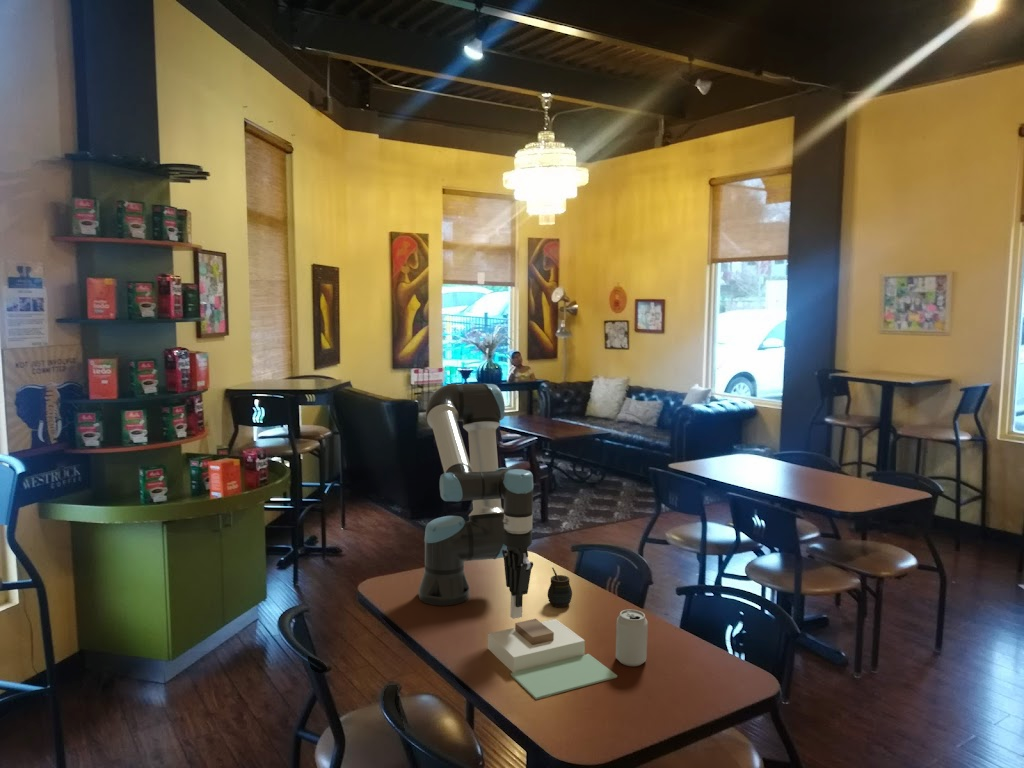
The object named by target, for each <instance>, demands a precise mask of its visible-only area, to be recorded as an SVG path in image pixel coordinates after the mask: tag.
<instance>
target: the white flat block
mask: <svg viewBox="0 0 1024 768" xmlns="http://www.w3.org/2000/svg"><path fill="white" fill-rule="evenodd" d="M540 622H541V623H542V624H543V625H545V626H546V627H547V628H548V629H550V630H551V631H552V632H554V640H553V641H549V642H544V643H540V644H536V645H532V644H531V643H529V642H528V641H527V640H526V639H525V638H523V637H522V636H521V635H520V634H519V633H518V632H516V631H515V627H511V628H508V629H503V630H497V631H494V632H489V633H488V634H487V649H488V651H490V652H491V654H493V655H494V656H495V657H496V658H497V659H498V660H499V661H500V663H502V664H503V665H504V666H505V667H506V668H507V669H508V670H509V671H511V673H513V672H517V671H521V670H525V669H529V668H533V667H537V666H541V665H545V664H549V663H553V662H557V661H561V660H565V659H569V658H573V657H577V656H581V655H585V652H586V648H585V647H586V640H585V639H584V638H582V637H581V636H579V634H577V633H575V631H573V630H571V628H569V627H567V626H566V625H565V624H563V623H562V622H560V621H559V620H558V619H556V618H555V619H554V618H553V619H549V620H545V621H540Z"/></svg>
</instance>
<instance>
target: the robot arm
mask: <svg viewBox="0 0 1024 768" xmlns="http://www.w3.org/2000/svg"><path fill="white" fill-rule="evenodd" d="M505 409H506V405H505V400H504V396H503V393H502V390H501V389H500V387H499V386H498V385H497V384H494V383H484V382H482V383H457V384H456V383H450V384H446V385H443V386H441V387H439V388H438V389H437V390H436V391H435V392H434V393H433V394H432V395H431V396H430V398H429V400H428V402H427V404H426V409H425V417H426V420H427V421H426V422H427V425H428V426H429V427H430V428H431V429H432V431H433V435H434V440H435V442H436V447H437V451H438V453H439V458H440V462H441V466H442V469H443V473H442V474H440V476H439V477H440V478H439V493H440V494H439V495H440V498H441V500H443V501H444V502H468V501H472V508H473V509H472V511H471V512H470V513H469V514H468V520H467V521H465V518H463V517H462V516H459V515H446V516H445V515H444V516H441V517H437V518H434V519H432V520H430V521H429V522H428V523H427V524H426V526H425V530H424V531H425V532H424V538H423V539H424V572H423V575H422V578H421V581H420V585H419V588H418V599H419V600H420V601H421V602H423V603H425V604H428V605H430V606H431V605H432V606H445V607H446V606H454V605H458V604H462V603H464V602H466V601H467V600H468V599H469V598H470V586H469V583H468V580H467V576H466V572H465V566H464V565H465V562H468V561H470V562H473V561H485V560H497V559H502V558H503V562H504V563H503V565H504V566H503V567H504V575H505V584H506V585H505V586H506V587H507V588H509V589H508V590H509V593H510V618H511V619H512V620H516V619H519V618H523V596H524V595H528V592H529V587H530V579H531V573H532V569H533V568H534V567H533V566H534V562H533V561H529V558H528V557H529V552H528V548H529V547H530V546H532V544H533V531H532V529H533V517H534V516H533V515H534V514H533V507H534V505H533V504H534V501H533V500H534V486H535V485H534V484H535V483H534V475H533V473H532V472H531V471H530V470H528V469H527V470H526V469H521V468H514V469H510V468H509V467H499V459H498V448H497V447H498V445H497V436H496V435H497V434H496V430H497V429H498V428H499V426H500V425H501V422H500V421H503V419H504V418H505V413H506V412H505ZM459 422H462V428H463V429H464V430H465V431H466V432H467V433H468V436H467V437H468V447H469V448H468V449H469V450H468V451H469V456H468V453H467V450H466V447H465V443H464V440H463V437H462V434H461V433H462V432H461V430H460V427H459ZM502 499H503V507H502Z"/></svg>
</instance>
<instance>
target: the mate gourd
mask: <svg viewBox="0 0 1024 768" xmlns="http://www.w3.org/2000/svg"><path fill="white" fill-rule="evenodd" d="M551 569H552V571H553V574H554V575H553V576H551V577H550V585H549V588H548V589H547V599H548V602H549V603H550V605H551V606H552V607H555V608H565V607H567V606H568V605H570V603H571V602H572V601H571V600H572V598H573V597H572V596H573V589H572V587H571V584H570V581H571V580H570V579H571V578H570V577H569V576H566V575H563V574H557V572H556V570H555V568H554V567H551Z"/></svg>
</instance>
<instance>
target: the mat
mask: <svg viewBox="0 0 1024 768" xmlns="http://www.w3.org/2000/svg"><path fill="white" fill-rule="evenodd" d="M510 676H511V678H512V679H514V680H515V681H516V682H517V683H518V684H519V685H520V686H522V687H523V688H524V690H525V691H527V692H528V694H530V696H532V697H533V698H534V699H535V701H536V700H540V699H544V698H547V697H548V698H549V697H551V696H554V695H558V694H562V693H566V692H569V691H572V690H576V689H579V688H583V687H587V686H592V685H594V684H595V685H596V684H597V683H598V684H599V683H602V682H605V681H610V680H613V679H616V678H618V675H617V674H616V673H615V672H613V671H612V670H611V669H610V668H608V667H607V666H605V665H604V664H603V663H602V662H600V661H599V660H597V659H596V657H594V656H592V655H591V654H590V653H587V654H585V655H581V656H577V657H573V658H569V659H565V660H561V661H557V662H553V663H549V664H545V665H541V666H537V667H533V668H529V669H525V670H521V671H517V672H510Z"/></svg>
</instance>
